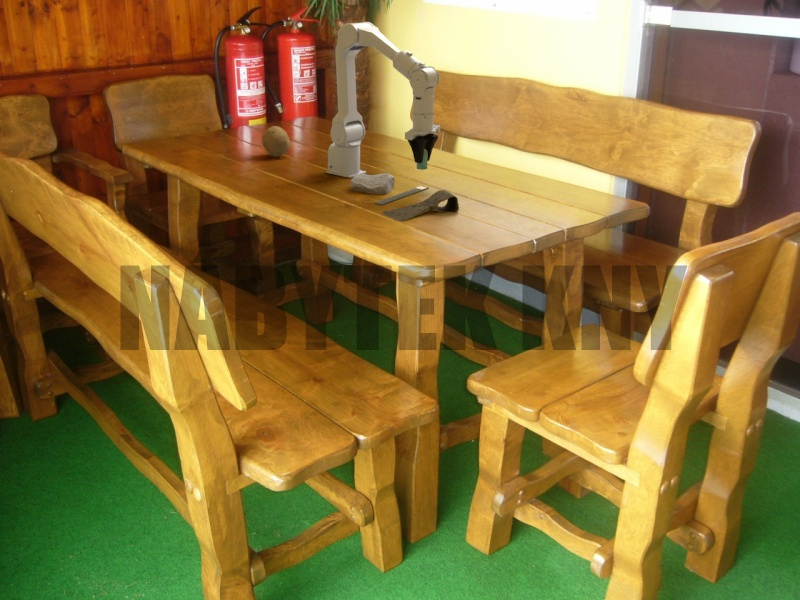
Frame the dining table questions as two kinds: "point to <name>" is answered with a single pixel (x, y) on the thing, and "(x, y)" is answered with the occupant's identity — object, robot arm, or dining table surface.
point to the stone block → (373, 183)
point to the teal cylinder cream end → (424, 163)
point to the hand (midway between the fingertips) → (422, 161)
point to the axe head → (426, 206)
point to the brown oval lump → (276, 141)
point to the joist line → (401, 195)
